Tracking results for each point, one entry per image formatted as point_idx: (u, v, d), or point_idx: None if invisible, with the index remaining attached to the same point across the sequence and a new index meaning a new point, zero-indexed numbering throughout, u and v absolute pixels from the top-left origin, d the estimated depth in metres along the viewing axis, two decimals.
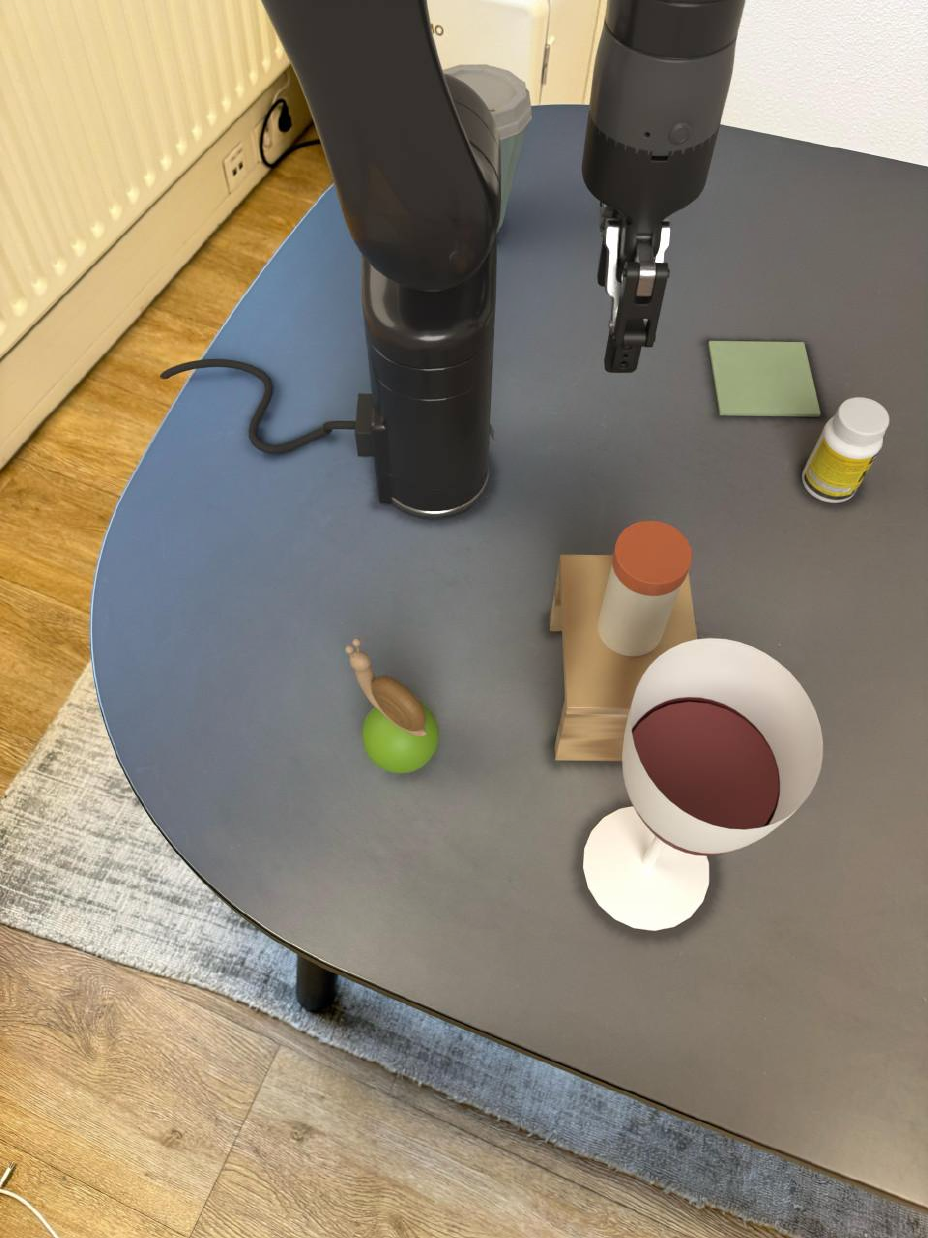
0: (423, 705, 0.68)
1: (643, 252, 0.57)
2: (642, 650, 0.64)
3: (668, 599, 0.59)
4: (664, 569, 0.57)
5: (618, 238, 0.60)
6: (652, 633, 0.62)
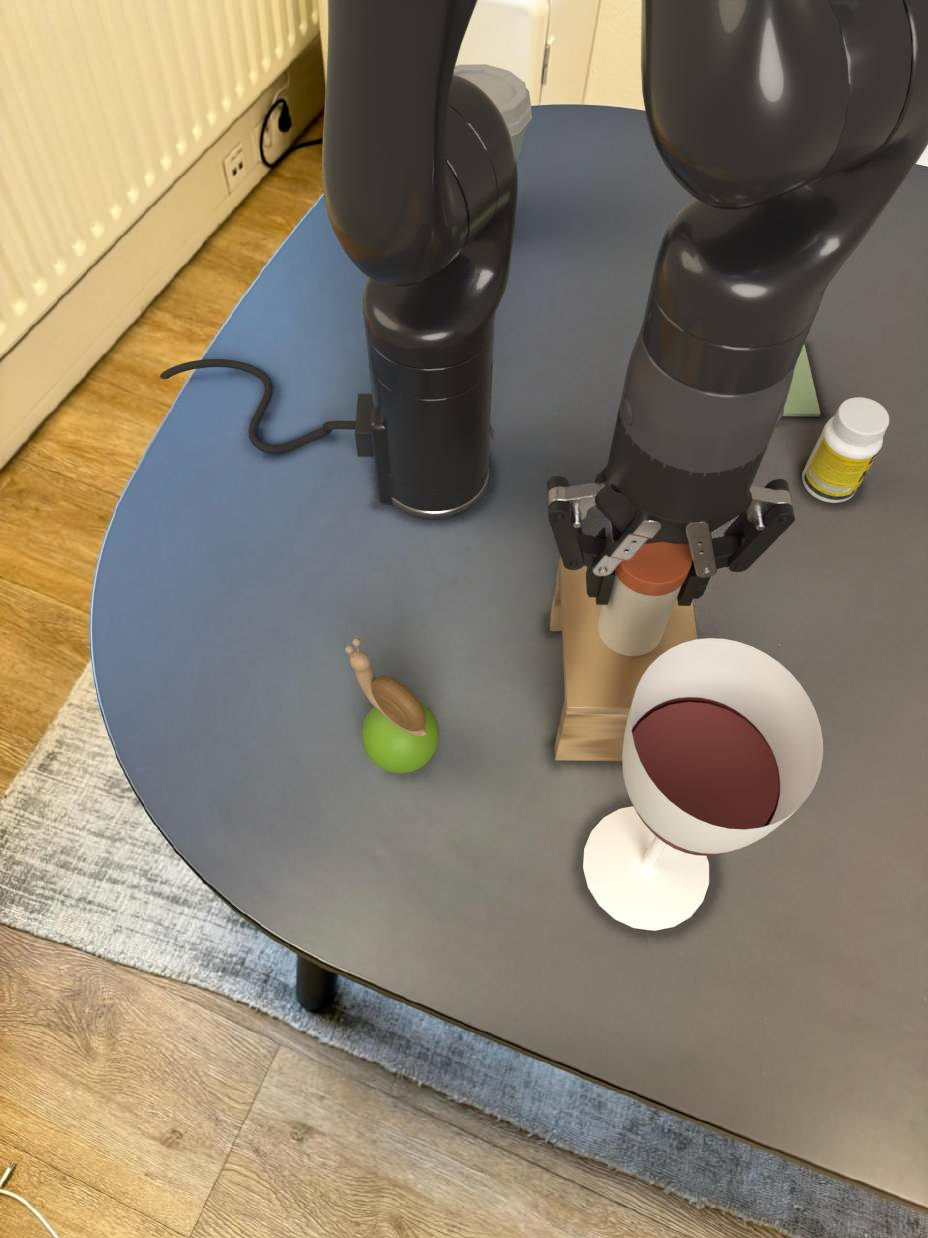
0: (423, 705, 0.68)
1: (580, 490, 0.53)
2: (642, 650, 0.64)
3: (668, 599, 0.59)
4: (665, 569, 0.57)
5: None
6: (652, 633, 0.62)
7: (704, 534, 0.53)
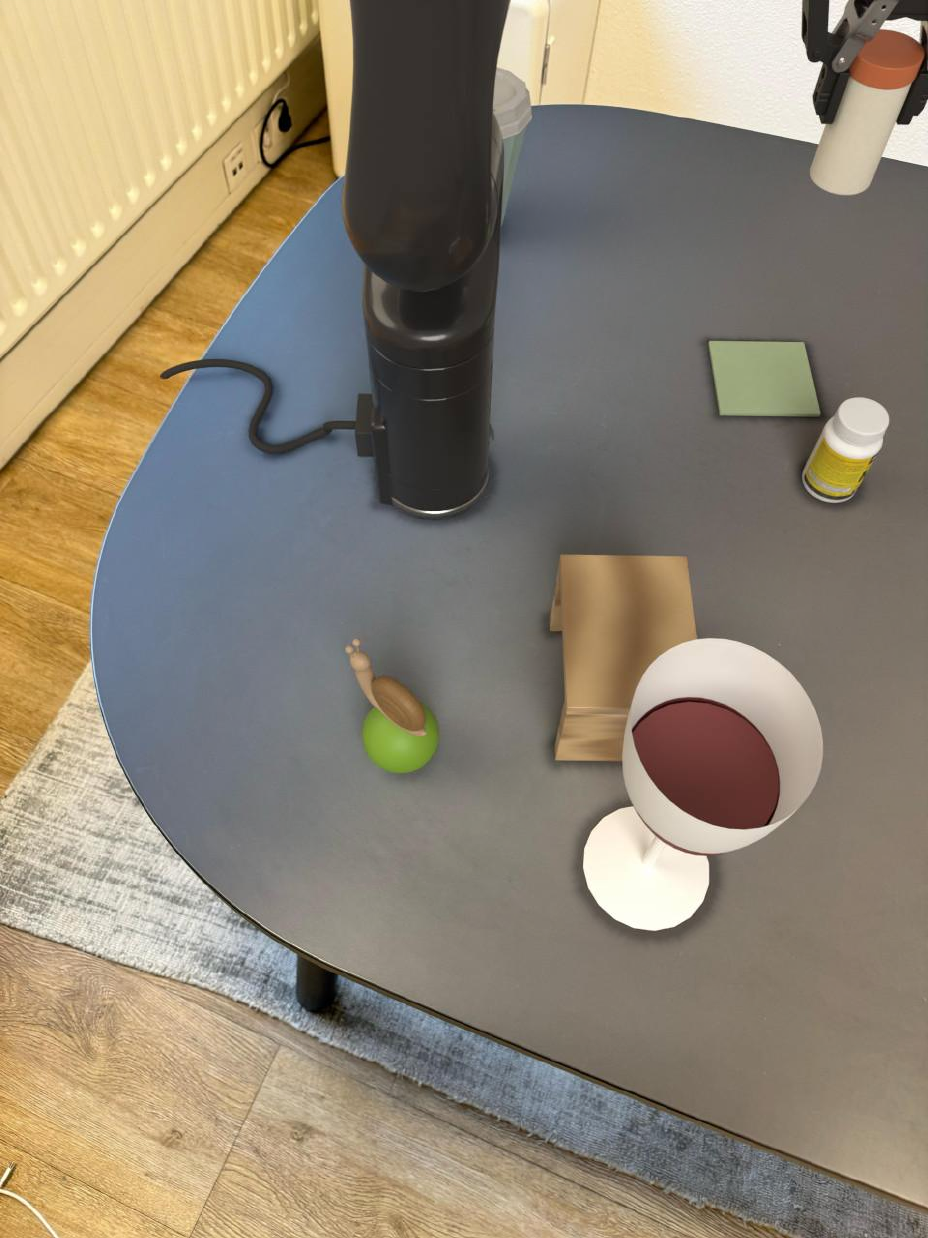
0: (423, 705, 0.68)
1: None
2: (857, 185, 0.69)
3: (897, 100, 0.64)
4: (900, 59, 0.62)
5: None
6: (872, 156, 0.67)
7: None
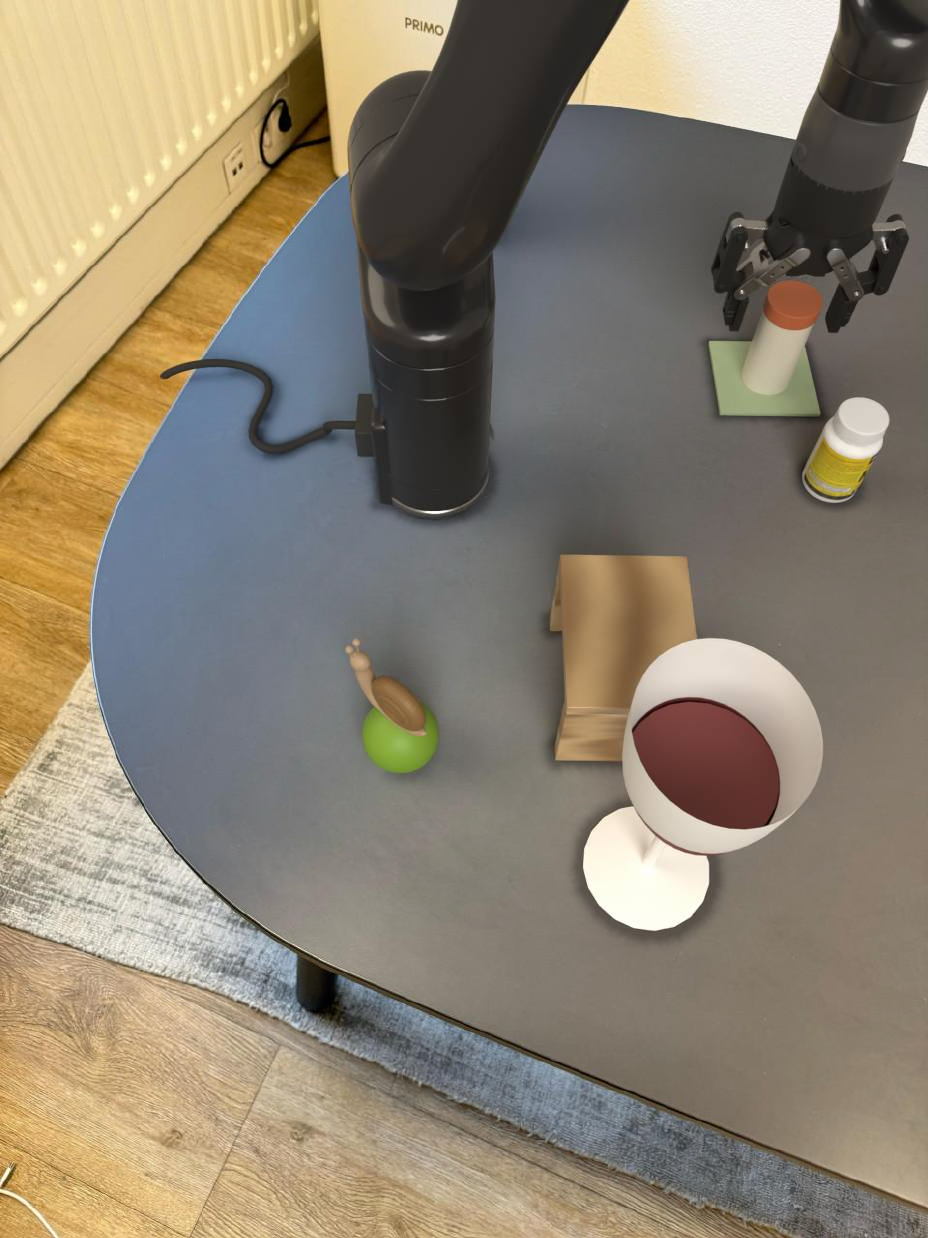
0: (423, 705, 0.68)
1: (755, 223, 0.75)
2: (777, 388, 0.87)
3: (803, 336, 0.82)
4: (804, 309, 0.81)
5: None
6: (787, 370, 0.86)
7: (839, 261, 0.76)
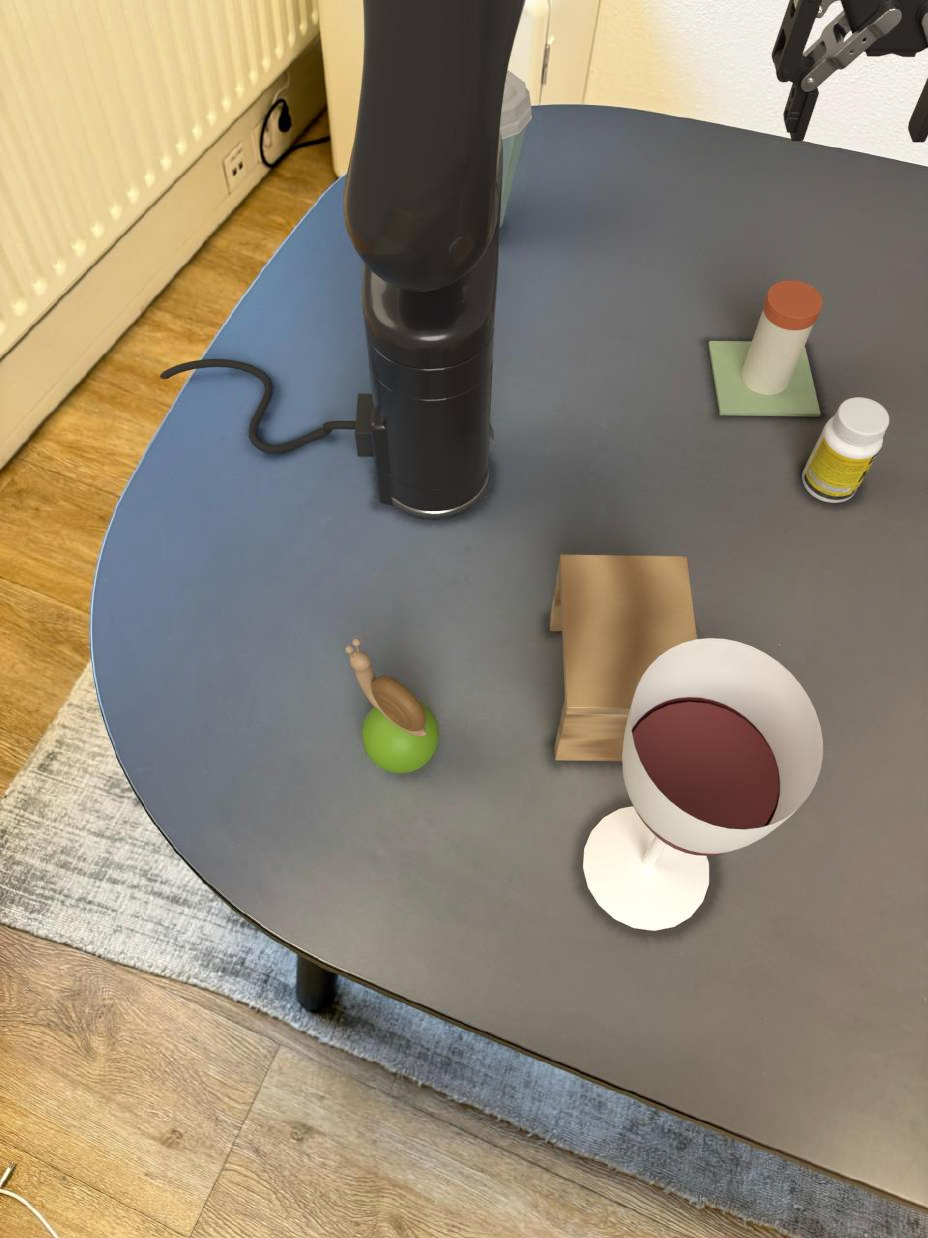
0: (423, 705, 0.68)
1: None
2: (777, 388, 0.87)
3: (803, 336, 0.82)
4: (804, 309, 0.81)
5: None
6: (787, 370, 0.86)
7: None
